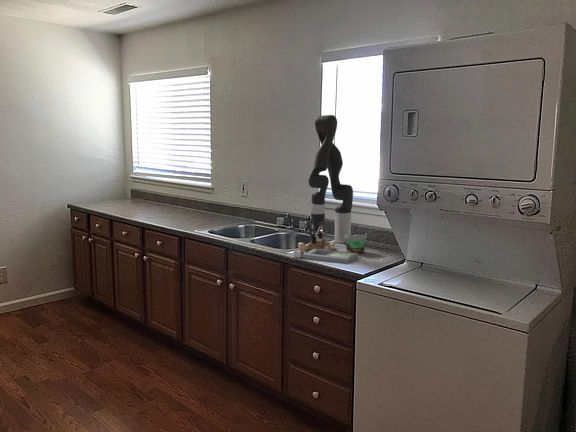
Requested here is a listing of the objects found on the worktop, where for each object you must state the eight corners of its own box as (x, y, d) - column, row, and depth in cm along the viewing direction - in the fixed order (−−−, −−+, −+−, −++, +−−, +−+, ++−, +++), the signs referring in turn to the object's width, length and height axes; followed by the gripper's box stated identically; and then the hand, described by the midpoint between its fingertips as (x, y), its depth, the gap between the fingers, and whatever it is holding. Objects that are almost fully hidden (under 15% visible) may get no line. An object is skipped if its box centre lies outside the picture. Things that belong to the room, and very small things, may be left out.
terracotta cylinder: (299, 253, 267) (299, 242, 266) (304, 254, 266) (305, 242, 265) (297, 254, 264) (297, 243, 263) (302, 255, 263) (302, 244, 262)
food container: (348, 255, 264) (348, 236, 262) (344, 252, 270) (344, 233, 268) (370, 253, 267) (371, 235, 265) (365, 251, 273) (366, 232, 271)
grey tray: (314, 252, 270) (314, 248, 270) (357, 257, 260) (357, 252, 260) (302, 258, 257) (302, 254, 257) (347, 263, 247) (347, 259, 246)
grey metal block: (294, 256, 262) (294, 249, 261) (301, 256, 262) (301, 249, 261) (293, 257, 259) (293, 251, 258) (300, 258, 258) (300, 251, 258)
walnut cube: (315, 248, 279) (315, 238, 278) (325, 249, 276) (325, 239, 275) (310, 251, 274) (310, 240, 273) (321, 252, 271) (321, 241, 270)
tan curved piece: (314, 245, 285) (314, 240, 285) (334, 248, 280) (334, 242, 280) (304, 251, 273) (304, 245, 273) (324, 253, 268) (324, 247, 267)
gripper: (316, 210, 280) (316, 239, 282) (305, 213, 267) (305, 243, 269) (329, 211, 276) (328, 240, 279) (319, 214, 264) (318, 245, 266)
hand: (317, 242), depth 274 cm, fingers open, 8 cm apart
